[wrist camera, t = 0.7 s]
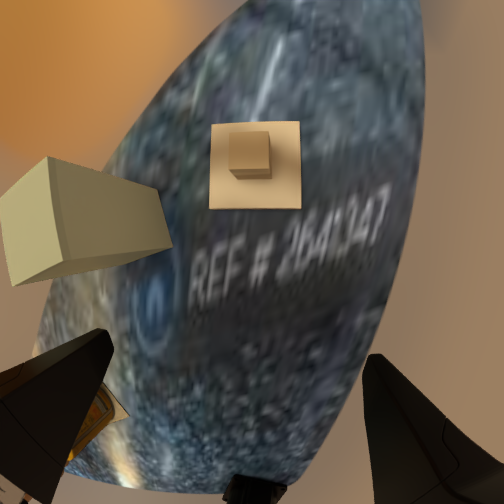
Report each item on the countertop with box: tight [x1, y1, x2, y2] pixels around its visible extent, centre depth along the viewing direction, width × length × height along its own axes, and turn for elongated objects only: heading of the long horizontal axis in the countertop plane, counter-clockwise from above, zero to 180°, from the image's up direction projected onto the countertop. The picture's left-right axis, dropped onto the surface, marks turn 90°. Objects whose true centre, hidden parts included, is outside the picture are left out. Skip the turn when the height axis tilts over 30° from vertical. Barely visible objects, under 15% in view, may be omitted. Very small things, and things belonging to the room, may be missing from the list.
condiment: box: [67, 383, 129, 461], centre depth 20 cm, size 7×8×12 cm
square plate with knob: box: [209, 121, 301, 210], centre depth 19 cm, size 7×7×4 cm
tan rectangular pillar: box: [0, 156, 173, 287], centre depth 17 cm, size 5×5×13 cm
